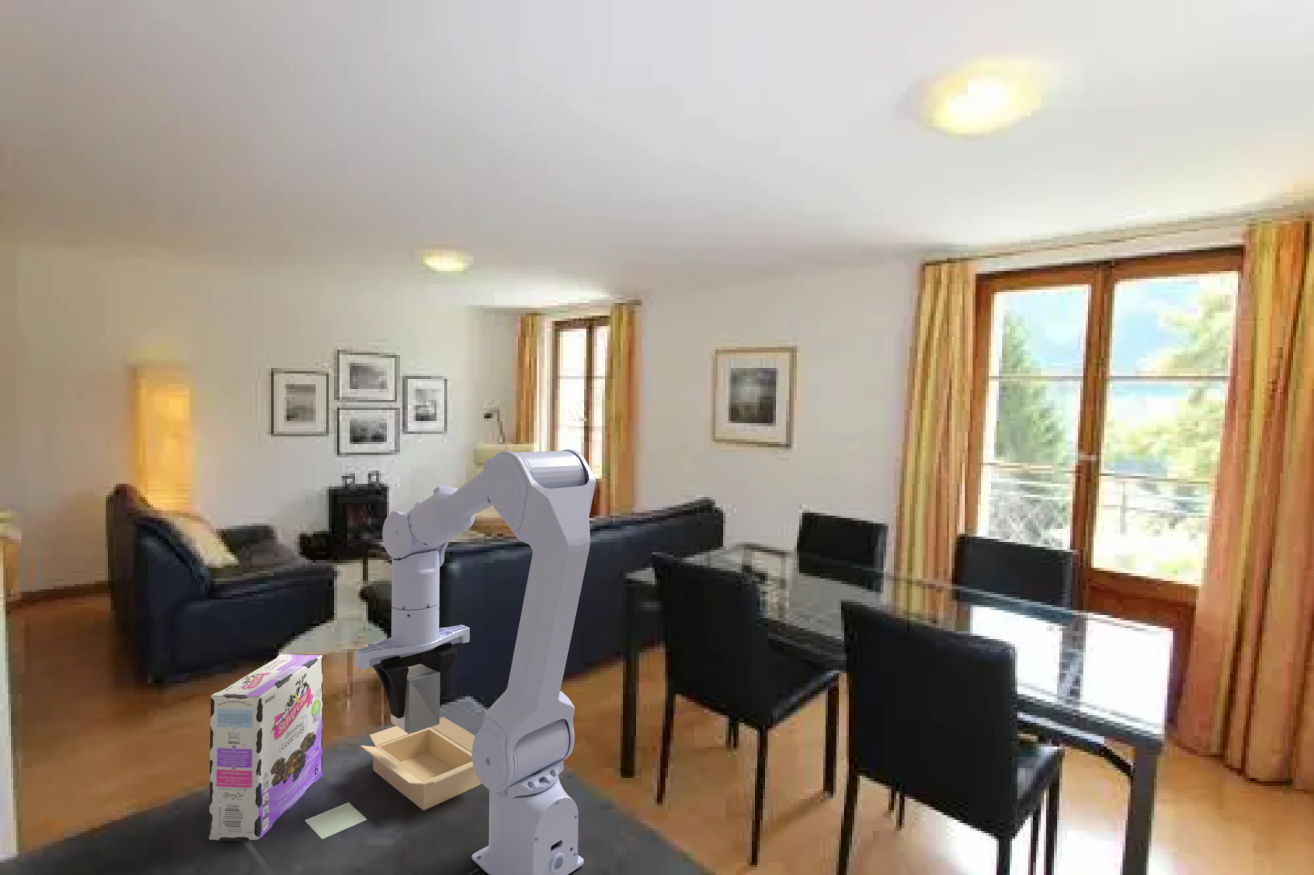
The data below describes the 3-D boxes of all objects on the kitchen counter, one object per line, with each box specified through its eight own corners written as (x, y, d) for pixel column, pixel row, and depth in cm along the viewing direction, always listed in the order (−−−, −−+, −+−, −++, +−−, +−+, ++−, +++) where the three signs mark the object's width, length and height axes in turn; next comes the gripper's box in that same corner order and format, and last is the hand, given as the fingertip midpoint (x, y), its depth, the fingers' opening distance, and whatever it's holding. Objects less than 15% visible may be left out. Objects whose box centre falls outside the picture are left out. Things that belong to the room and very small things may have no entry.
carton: (435, 742, 96) (435, 712, 96) (503, 786, 85) (503, 752, 85) (353, 773, 88) (353, 740, 87) (416, 826, 76) (417, 789, 76)
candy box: (259, 844, 73) (259, 696, 72) (206, 842, 73) (206, 695, 73) (324, 777, 87) (325, 652, 86) (280, 775, 87) (280, 651, 86)
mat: (366, 822, 77) (367, 819, 77) (322, 842, 73) (322, 838, 73) (348, 805, 80) (348, 802, 80) (304, 823, 77) (304, 820, 77)
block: (390, 722, 85) (390, 671, 85) (420, 712, 88) (420, 663, 88) (409, 734, 81) (409, 681, 81) (439, 723, 84) (439, 672, 84)
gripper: (450, 588, 92) (449, 684, 93) (344, 608, 82) (343, 717, 82) (478, 598, 88) (477, 699, 88) (369, 621, 77) (369, 736, 77)
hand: (414, 709), depth 85 cm, fingers closed on block, 4 cm apart
